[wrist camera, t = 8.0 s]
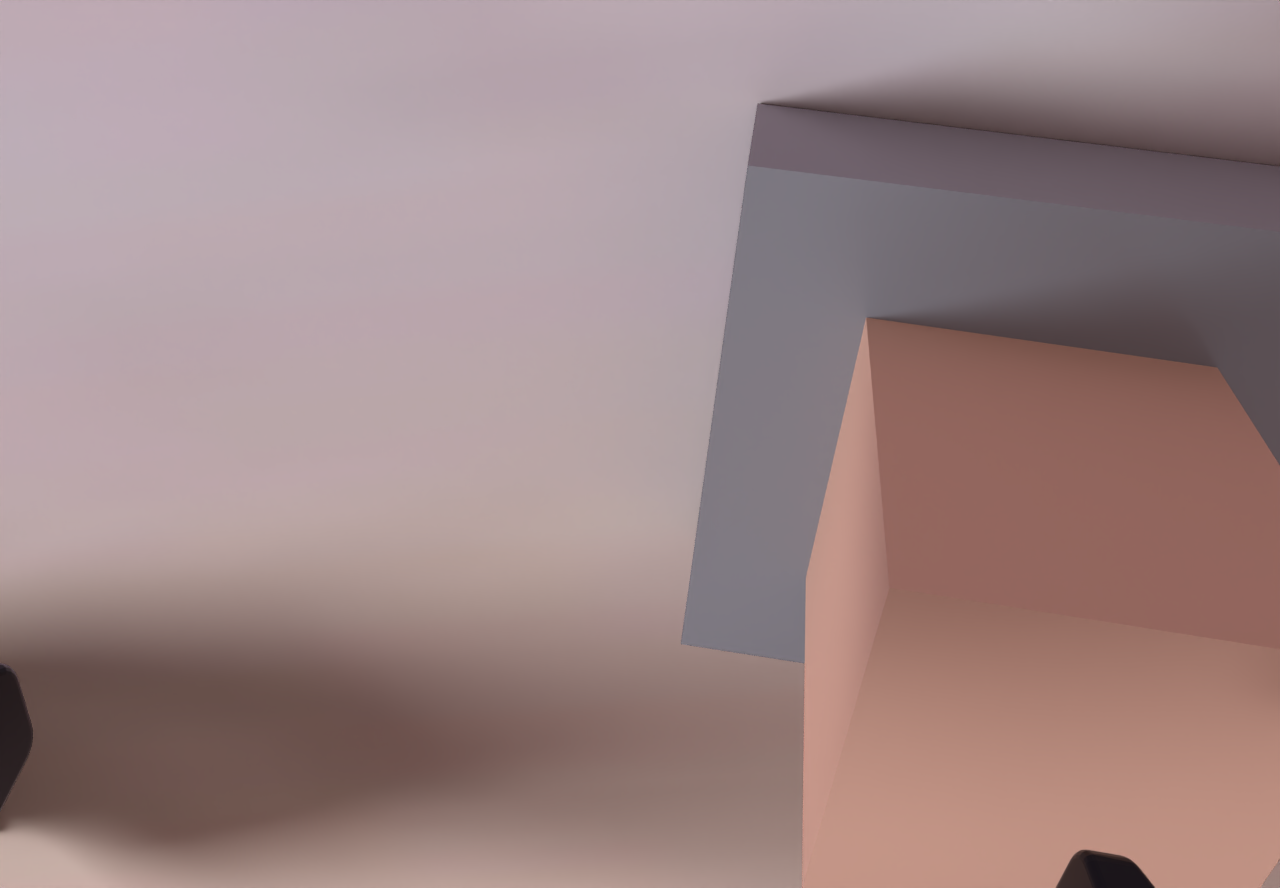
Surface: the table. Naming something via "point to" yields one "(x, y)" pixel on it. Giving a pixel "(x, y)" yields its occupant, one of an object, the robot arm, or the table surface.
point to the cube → (1040, 621)
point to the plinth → (949, 307)
